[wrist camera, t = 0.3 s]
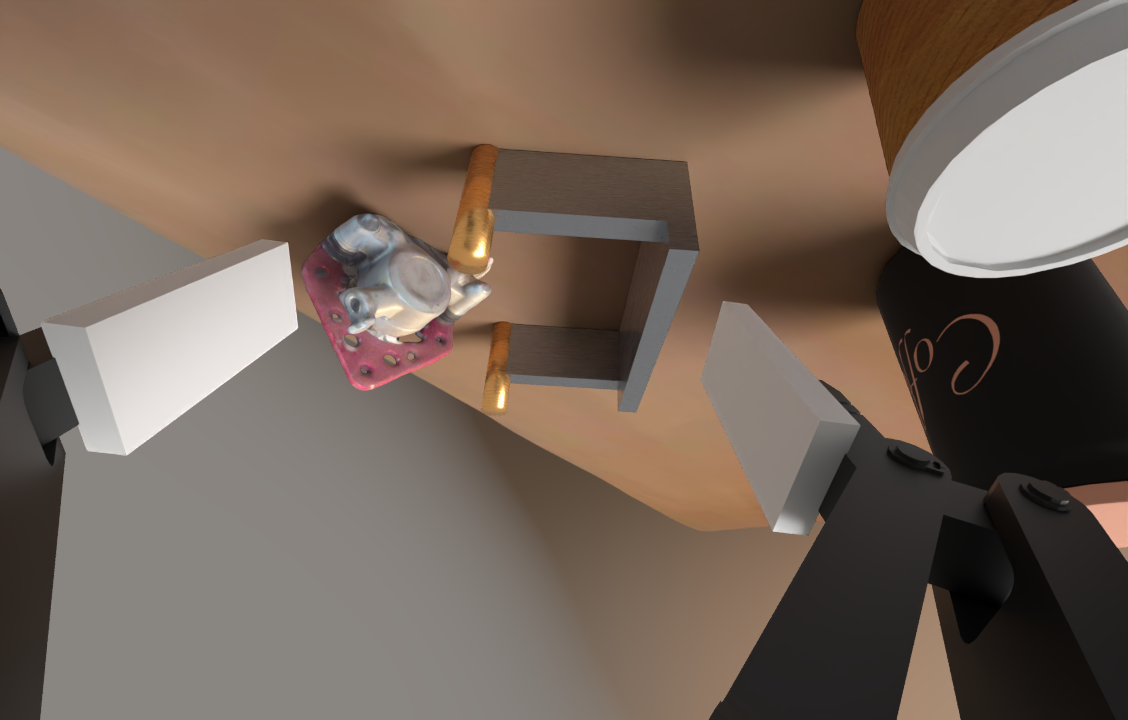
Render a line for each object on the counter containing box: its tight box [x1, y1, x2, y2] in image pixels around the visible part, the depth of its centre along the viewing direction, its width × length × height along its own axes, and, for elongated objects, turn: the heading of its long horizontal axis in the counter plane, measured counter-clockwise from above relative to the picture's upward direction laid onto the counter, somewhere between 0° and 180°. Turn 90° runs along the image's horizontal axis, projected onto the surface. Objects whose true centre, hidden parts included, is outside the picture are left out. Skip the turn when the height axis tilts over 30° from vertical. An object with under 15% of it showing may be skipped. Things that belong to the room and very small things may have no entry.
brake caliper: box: [301, 213, 493, 390], centre depth 33 cm, size 11×11×12 cm
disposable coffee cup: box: [856, 0, 1128, 278], centre depth 18 cm, size 10×10×12 cm
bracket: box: [447, 144, 699, 416], centre depth 34 cm, size 19×12×8 cm, turn 177°
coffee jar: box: [876, 246, 1128, 548], centre depth 29 cm, size 11×11×18 cm
